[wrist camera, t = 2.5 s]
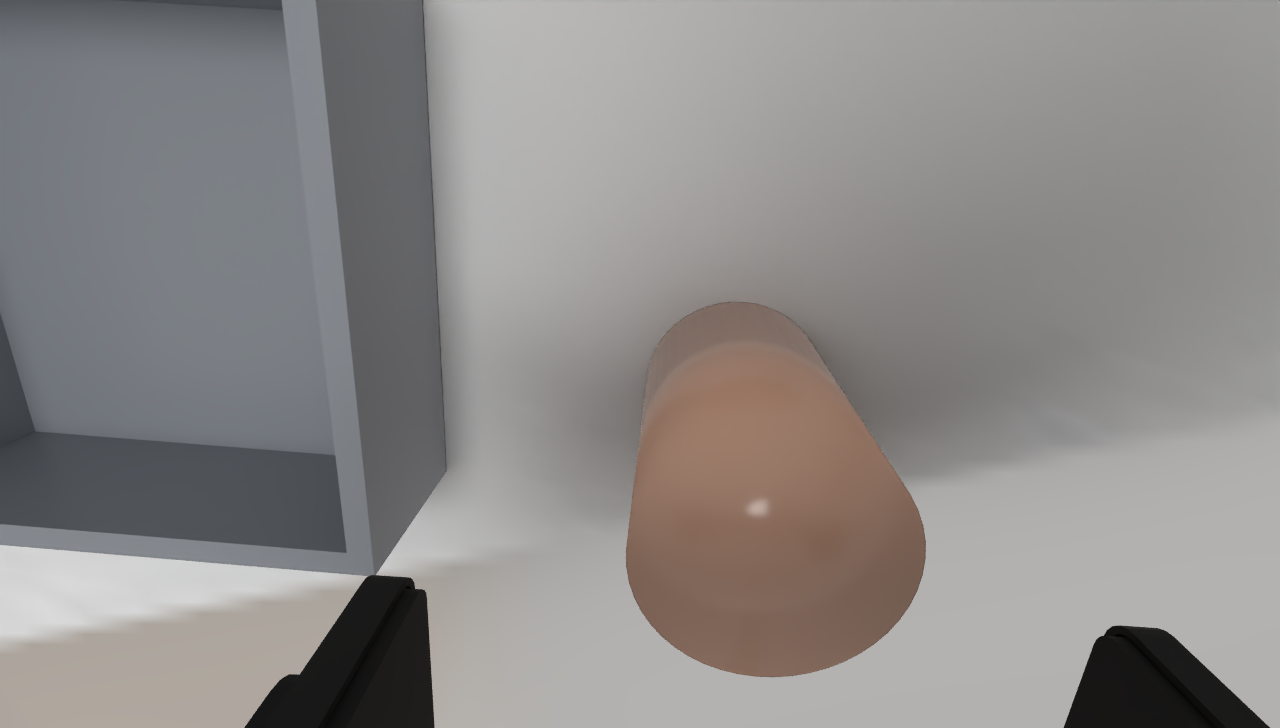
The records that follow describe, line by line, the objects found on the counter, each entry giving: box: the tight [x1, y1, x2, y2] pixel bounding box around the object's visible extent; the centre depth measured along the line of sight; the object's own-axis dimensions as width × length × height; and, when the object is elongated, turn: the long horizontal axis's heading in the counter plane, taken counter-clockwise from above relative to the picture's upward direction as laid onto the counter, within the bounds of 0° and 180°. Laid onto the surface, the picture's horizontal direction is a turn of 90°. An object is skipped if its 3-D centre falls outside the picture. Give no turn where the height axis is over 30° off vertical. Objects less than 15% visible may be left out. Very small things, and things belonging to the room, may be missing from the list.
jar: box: [626, 302, 926, 677], centre depth 14 cm, size 5×5×8 cm
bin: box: [0, 0, 446, 576], centre depth 15 cm, size 13×13×5 cm
